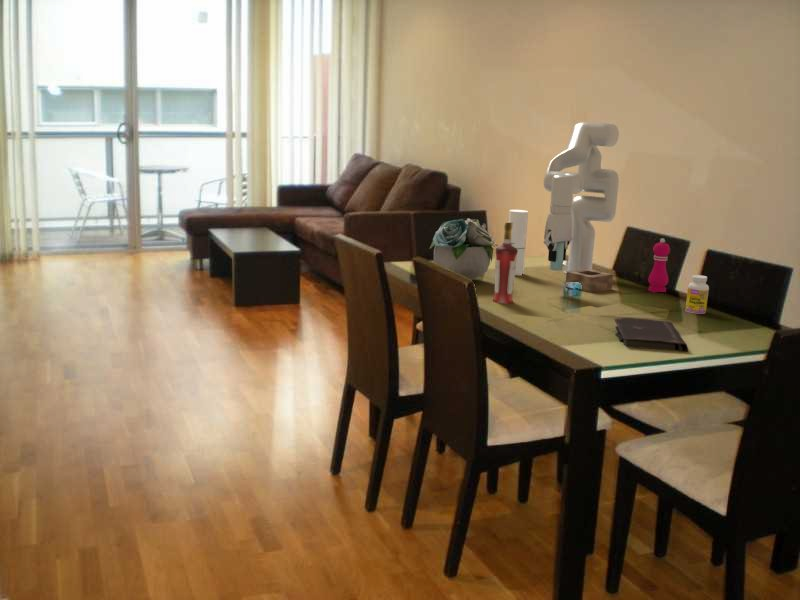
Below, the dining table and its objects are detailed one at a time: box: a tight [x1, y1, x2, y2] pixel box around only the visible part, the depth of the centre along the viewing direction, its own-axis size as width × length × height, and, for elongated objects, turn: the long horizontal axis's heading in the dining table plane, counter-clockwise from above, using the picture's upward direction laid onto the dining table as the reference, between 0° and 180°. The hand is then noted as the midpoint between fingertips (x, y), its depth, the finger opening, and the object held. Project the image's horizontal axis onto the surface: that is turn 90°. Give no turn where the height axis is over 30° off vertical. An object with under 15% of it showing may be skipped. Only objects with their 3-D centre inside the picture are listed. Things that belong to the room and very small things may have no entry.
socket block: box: [565, 269, 614, 293], centre depth 338 cm, size 12×12×6 cm
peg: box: [549, 242, 564, 272], centre depth 327 cm, size 4×4×10 cm
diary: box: [613, 317, 689, 353], centre depth 266 cm, size 19×25×5 cm
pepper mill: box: [647, 237, 671, 293], centre depth 337 cm, size 7×7×20 cm
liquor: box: [492, 221, 518, 305], centre depth 304 cm, size 7×7×28 cm
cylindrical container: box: [508, 209, 529, 276], centre depth 357 cm, size 7×7×25 cm
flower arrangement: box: [429, 217, 499, 281], centre depth 336 cm, size 25×25×24 cm
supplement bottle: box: [684, 274, 710, 315], centre depth 305 cm, size 7×7×13 cm
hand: (556, 259), depth 327 cm, fingers closed on peg, 4 cm apart
